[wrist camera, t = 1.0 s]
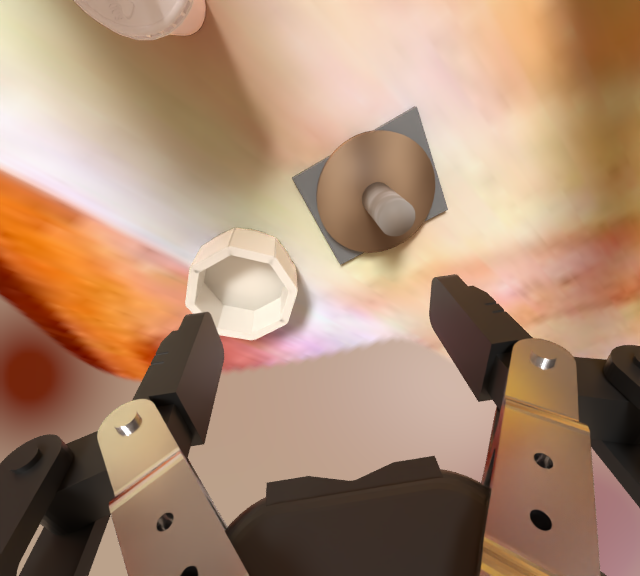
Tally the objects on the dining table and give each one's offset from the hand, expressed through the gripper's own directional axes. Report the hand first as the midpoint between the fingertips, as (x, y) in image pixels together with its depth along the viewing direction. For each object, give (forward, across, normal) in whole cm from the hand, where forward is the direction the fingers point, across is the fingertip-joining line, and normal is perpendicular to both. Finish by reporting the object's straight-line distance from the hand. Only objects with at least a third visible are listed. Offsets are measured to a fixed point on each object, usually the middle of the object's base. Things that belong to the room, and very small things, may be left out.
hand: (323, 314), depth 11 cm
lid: (+20, -7, +2) cm, 21 cm away
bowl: (+20, +7, +8) cm, 23 cm away
